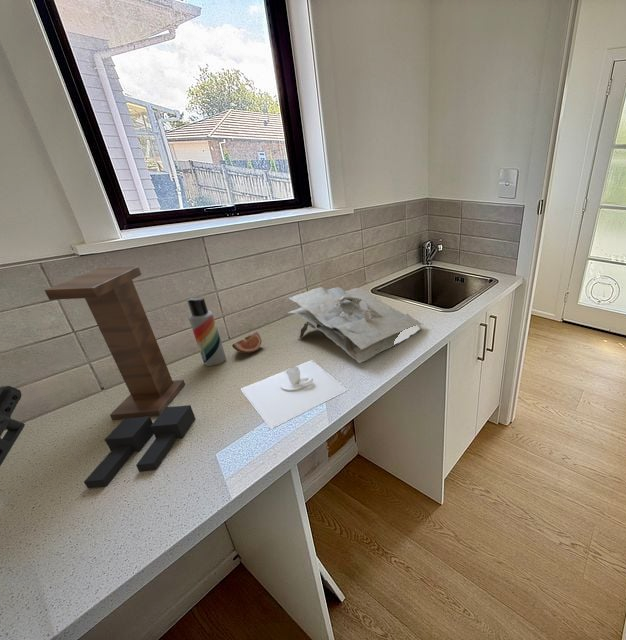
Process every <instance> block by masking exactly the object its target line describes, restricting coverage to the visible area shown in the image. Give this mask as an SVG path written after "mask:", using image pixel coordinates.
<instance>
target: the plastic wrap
mask: <svg viewBox="0 0 626 640" xmlns="http://www.w3.org/2000/svg"><path fill="white" fill-rule="evenodd" d="M288 300H290V301H292V302H294V303H295V304H298V305H299V306H300V307H297V308H295V309H293V310H291V311H288V312H287V314H295V315H297V316H299V317H300V318H302V319H304V320H305V321H306V322H305V323H304V324H303V327H302V328H301V329H300V335H299V338H298V340H301V339H302V338H303V336H304V334H305V333H306V332H307V330H308V327H310V328H311V329H318V331H320V332H322V333H323V334H324V335H325V336H326V337H327V339H330V340H331V341H333V342H334V344H335V345H336V346H338V347H340V348H341V349H342V350H343V351H345V352H346V353H347V355H349V356H350V358H351V357H352V359H354V360H355V361H356V363H358V364H360V363H363V362H364V361H368V360H369V359H371V358H373V357H374V356H376V355H377V354H380V353H381V352H382V351H383V352H384V351H385V350H388V349H390V348H391V347H392V346H393V345H394V341H395V339H396V338H397V337H398V335H399V334H400V332H402V331H403V330H405V329H408V328H410V327H413V326H416V325H417V326H421V325H423V326H424V324H423V323H421V322H420V321H418V319H415V318H413V317H412V316H411V315H410V314H409V313H403V312H401V311H400V310H398V309H395V308H393V307H392V306H391V305H389V304H388V303H385V302H383V301H382V300H381V299H379V298H377V296H376V295H373V294H372V293H370V292H368V291H367V290H364V289H361V288H358V287H355V288H351V289H348V290H344V289H343V288H342V287H339V286H337V287H332V288H330V289H326V288H324V287H323V286H320V287H316V288H312V289H310V290H308V291H305V292H303V293H298V294H295V295H293V296H290V297H288ZM392 348H393V347H392Z"/></svg>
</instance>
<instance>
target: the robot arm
mask: <svg viewBox="0 0 626 640" xmlns="http://www.w3.org/2000/svg"><path fill="white" fill-rule="evenodd" d="M21 399H22V391H21V389H18V388H16V387H14V386H11V385H2V386H0V467H1V466H2V464H3V463H4V461H5V459H6V458H7V456H8V455H9V453H10V451H11V449H12V448H13V446H14V445H15V444H16V443H15V442H16V441H17V440H18V438H19V436H20V435H21V433H22V431H23V430H24V428H25V426H26V424H25V422H22V421H19V420H16V419H13V418H12V415H13V413H14V411H15V410H16V407H17V406H18V404H19V402H20V400H21ZM4 431H6V432H5V434H4V435H3V433H4ZM2 435H3V437H2V438H1V436H2Z"/></svg>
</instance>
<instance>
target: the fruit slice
mask: <svg viewBox="0 0 626 640" xmlns="http://www.w3.org/2000/svg"><path fill="white" fill-rule="evenodd" d="M261 345H262V337H261V335H260V334H259V333H258V332H257V331H256V332H254V333H252V334H250V335H247V336H246V337H244V338H243V339H241V340H238V341H236V342H234V343H233V344H232V345H231V347H232V348H233V349H234V350H235V351H237V352H239V353H243V354H250V353H251V354H252V353H254V352H256V351H258V350H259V349H260V347H261Z"/></svg>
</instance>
